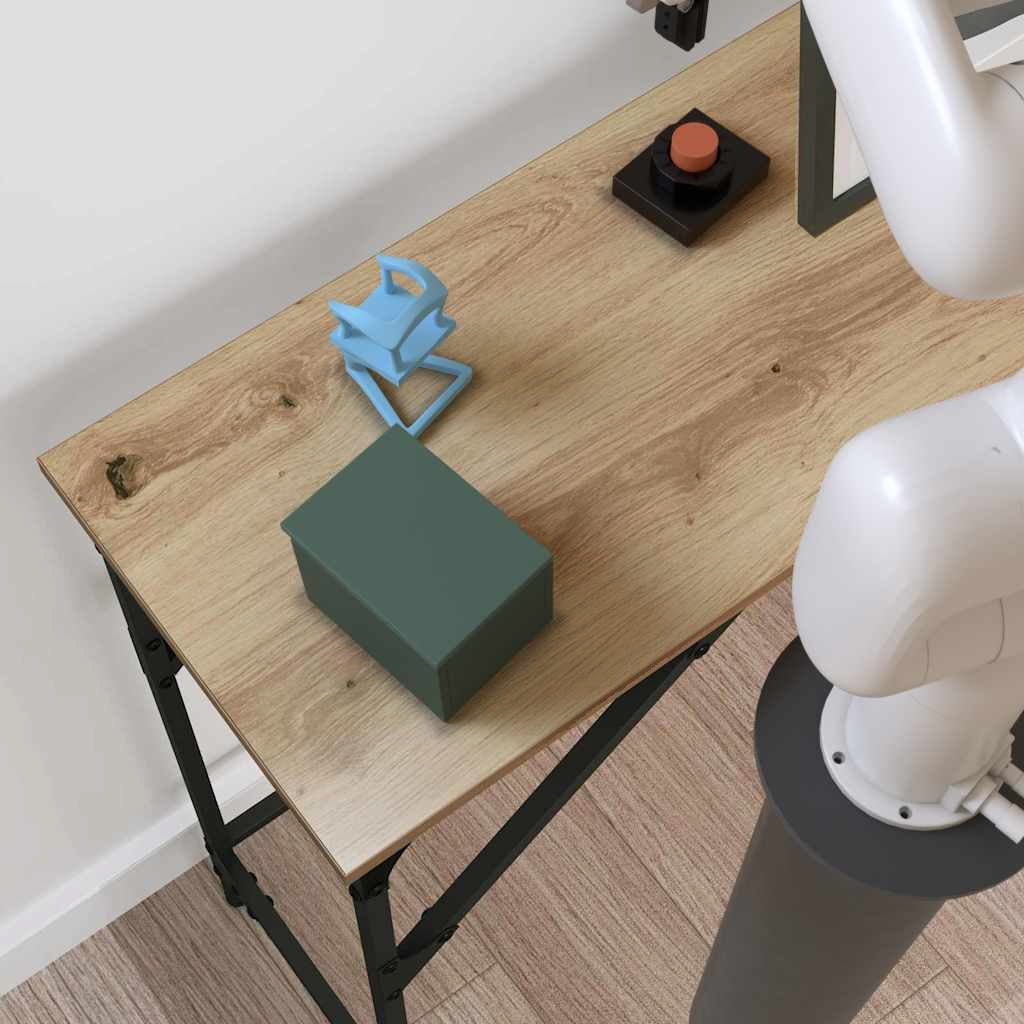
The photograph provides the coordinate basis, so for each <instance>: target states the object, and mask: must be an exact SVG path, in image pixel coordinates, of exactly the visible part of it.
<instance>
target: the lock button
mask: <svg viewBox="0 0 1024 1024" xmlns="http://www.w3.org/2000/svg"><path fill="white" fill-rule="evenodd" d="M717 148H718V136H717V134H716V132H715V131H714V130H713V129H712V128H711V127H709V126H707V125H705V124H702V123H695V122H693V123H687V124H684V125H682V126H680V127H678V128H677V129H676V130H675V132H674V133H673V136H672V143H671V159H672V161H673V163H674V164H675V165H676V166H677V167H678V168H680V169H682V170H684V171H688V172H701V171H704V170H707V169H708V168H710V167H711V166H712V165H713V164H714V162H715V160H716V156H717Z"/></svg>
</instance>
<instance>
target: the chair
mask: <svg viewBox="0 0 1024 1024" xmlns="http://www.w3.org/2000/svg"><path fill="white" fill-rule="evenodd" d="M375 258H376V260H377V262H378V264H379V266H380V275H381V283H380V284H379V285H378V286H377V287H376V288H375V289H374V290H373V291H372V292H371V293H370V294H369V296H368V297H367V298H366V299H365V300H364V301H362V303H361V304H360V305H359V306H358V307H356V306H353V305H348V304H345V303H342V302H339V301H338V300H333V299H332V300H329V301H328V306H329V308H330V311H331V312H332V315H333V316H334V318H336V320H337V321H338V323H339V324H338V326H337V327H336V328H334V330H333V331H332V332H331V333H330V334H329V335H328V336H329V341H330V343H331V344H333V345H334V346H335V347H337V349H338V350H339V351H340V353H341V355H342V356H343V358H344V363H345V371H346V372H347V374H348V375H349V376H350V377H351V378H352V379H353V380H354V381H355V382H356V383H357V384H358V386H359V387H360V388H361V389H362V391H363V392H364V393H365V395H366V396H367V397H368V398H369V400H370V401H371V403H372V404H373V405H374V407H375V408H376V410H377V411H378V413H379V414H380V415H381V417H382V418H383V419H384V421H385V422H386V424H387V425H388V426H389V428H391V427H392V426H393V425H394V424H395V423H398V424H399V425H400V426H401V427H403V428H404V429H405V430H406V431H407V432H409V433H410V434H411V435H412V436H413V437H415V438H416V439H417V440H418V438H419V437H420V436H421V435H422V433H424V431H426V429H427V428H428V427H429V426H430V425H431V424H432V423H433V422H434V421H435V420H436V418H438V417H439V416H440V414H441V413H442V412H443V411H445V409H446V408H447V407H448V406H449V405H450V404H451V402H453V400H454V399H455V398H456V397H457V396H458V395H459V394H460V393H461V392H462V391H463V390H464V389H465V388H466V386H468V384H469V383H471V381H472V379H473V369H472V367H470V366H468V365H466V364H464V363H461V362H458V361H456V360H452V359H449V358H446V357H442V356H438V355H435V354H432V353H433V352H434V351H435V350H436V349H437V348H438V347H439V346H440V345H441V344H442V343H444V342H445V341H446V340H447V339H448V338H449V337H450V336H451V335H452V334H453V333H454V331H456V329H457V321H456V319H453V318H452V317H450V316H448V315H447V314H446V313H444V312H443V310H444V308H445V305H446V302H447V299H448V296H449V290H448V288H447V286H446V285H445V284H444V283H443V282H442V280H441V279H440V278H438V276H437V275H436V274H435V273H433V271H431V270H430V269H429V268H428V267H427V266H425V265H424V264H422V263H420V262H418V261H416V260H413V259H409V258H404V257H403V258H402V257H395V256H390V255H388V254H384V253H377V254H376V257H375ZM392 272H397V273H401V274H404V275H406V276H407V277H409V278H411V279H412V280H414V281H415V282H416V283H418V284H419V286H421V287H422V288H423V291H422V293H421V294H420V295H419V296H418V297H417V296H416V295H414V294H413V293H411V292H410V291H409V290H407V289H406V288H404V287H403V286H401V285H400V284H398V282H397V283H396V282H395V281H394V280H393V279H394V278H393V275H392ZM366 368H368V369H370V370H372V371H374V372H376V373H377V374H378V375H380V376H381V377H383V378H384V379H385V380H387V381H389V382H390V383H392V384H393V385H394V386H396V387H397V388H400V387H402V385H404V383H405V382H407V380H408V379H410V377H411V376H412V375H413V374H414V373H415V371H417V370H418V368H422V369H427V370H430V371H435V372H440V373H444V374H448V375H452V376H456V377H457V378H456V379H455V380H454V381H453V382H452V383H451V384H450V385H449V386H448V387H447V388H446V389H445V390H444V391H443V392H442V393H441V394H440V396H439V397H438V398H437V399H436V400H435V401H434V402H433V403H432V404H431V405H430V406H429V407H428V408H427V409H426V410H425V411H424V412H423V413H422V414H421V415H420V417H418V418H417V420H415V421H414V423H412V425H410V426H409V427H407V426H405V424H404V423H403V421H402V419H400V417H399V415H398V414H397V412H396V411H395V409H394V408H393V407H392V405H391V403H390V401H389V400H388V399H387V397H386V396H385V394H384V392H383V391H382V390H381V388H380V387H379V385H378V384H377V382H376V381H375V379H374V377H372V375H371V373H370V372H369V371H368V370H367V369H366Z"/></svg>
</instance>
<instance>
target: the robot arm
mask: <svg viewBox="0 0 1024 1024" xmlns="http://www.w3.org/2000/svg"><path fill="white" fill-rule="evenodd" d="M801 1H802V4H803V8H804V11H805V13H806V16H807V19H808V22H809V24H810V27H811V29H812V33H813V35H814V37H815V40H816V43H817V45H818V48H819V50H820V53H821V56H822V58H823V61H824V63H825V65H826V69H827V70H828V74H829V76H830V78H831V80H832V83H833V86H834V88H835V91H836V94H837V95H838V98H839V101H840V104H841V105H842V108H843V111H844V113H845V116H846V118H847V121H848V124H849V126H850V128H851V131H852V134H853V136H854V138H855V141H856V144H857V147H858V149H859V152H860V154H861V157H862V160H863V163H864V165H865V168H866V171H867V173H868V176H869V179H870V181H871V184H872V187H873V190H874V192H875V195H876V198H877V200H878V203H879V204H880V205H879V206H880V208H881V210H882V213H883V216H884V218H885V220H886V222H887V225H888V228H889V229H890V231H891V234H892V236H893V238H894V240H895V242H896V243H897V245H898V248H899V250H900V251H901V253H902V255H903V256H904V258H905V260H906V261H907V262H908V264H909V266H910V267H911V269H913V270H914V271H915V273H916V274H917V275H918V276H919V277H920V278H921V279H922V280H923V282H924V283H926V284H927V285H928V286H930V287H931V288H932V289H933V290H935V291H937V292H939V293H940V294H943V295H945V296H947V297H950V298H952V299H955V300H960V301H967V302H981V301H995V300H1000V299H1007V298H1011V297H1016V296H1019V295H1022V294H1024V59H1020V60H1016V61H1013V62H1010V63H1006V64H1002V65H999V66H995V67H992V68H988V69H985V70H982V71H977V70H976V69H975V66H974V64H973V61H972V59H971V56H970V55H969V52H968V50H967V47H966V45H965V42H964V40H963V37H962V35H961V32H960V30H959V27H958V25H957V22H956V19H955V18H956V17H960V16H963V15H966V14H967V15H968V14H970V13H973V12H976V11H979V10H982V9H983V10H984V9H987V8H990V7H994V6H998V5H1003V4H1006V3H1010V2H1014V1H1015V0H801ZM709 4H710V0H625V5H626V6H628V7H629V8H631V9H632V10H634V11H635V12H637V13H639V14H640V15H643V14H645V13H647V12H648V11H650V10H652V9H654V8H655V13H654V24H653V25H654V27H653V28H654V30H655V32H656V34H658V35H659V36H660V37H662V38H663V39H665V40H666V41H667V42H670V43H672V44H674V45H675V46H677V47H678V48H679V49H681V50H683V51H684V52H686V53H689V52H691V51H692V50H693V49H694V48H695V46H696V44H700V43H701V42H702V41H703V40H704V39H705V37H706V30H707V23H708V22H707V21H708V13H709ZM808 517H809V518H808V520H807V522H806V524H805V527H804V530H803V533H802V536H801V539H800V540H799V541H800V542H799V544H798V548H797V551H796V554H795V558H794V563H793V570H792V582H791V602H792V610H793V617H794V623H795V625H796V630H797V633H798V635H799V636H800V639H801V642H802V644H803V646H804V649H805V651H806V652H807V654H808V656H809V658H810V659H811V661H812V662H813V664H814V665H815V666H816V668H817V669H818V670H819V671H820V672H821V674H822V675H823V676H824V677H825V678H826V679H827V680H829V681H830V682H831V683H832V684H834V686H833V688H832V690H831V692H830V694H829V696H828V698H827V700H826V702H825V705H824V708H823V711H822V715H821V721H820V728H819V730H820V746H821V750H822V754H823V758H824V762H825V764H826V766H827V768H828V771H829V773H830V775H831V777H832V779H833V780H834V782H835V783H836V784H837V786H838V787H839V789H840V790H841V791H842V793H843V794H844V795H845V796H846V797H847V798H848V799H849V800H850V801H851V802H852V803H853V804H854V805H855V806H857V807H858V808H860V809H861V810H863V811H864V812H865V813H867V814H868V815H870V816H871V817H873V818H876V819H878V820H880V821H882V822H884V823H886V824H888V825H892V826H896V827H900V828H903V829H908V830H920V831H929V830H940V829H945V828H949V827H952V826H955V825H959V824H961V823H963V822H965V821H967V820H968V819H970V818H972V817H974V816H976V815H977V814H978V813H979V812H980V813H981V814H983V815H984V816H985V817H986V818H988V819H989V820H990V821H991V822H993V823H994V824H995V826H996V827H997V828H998V829H999V830H1001V831H1002V832H1003V833H1004V834H1006V835H1007V836H1008V837H1009V838H1010V839H1012V840H1013V841H1014V842H1015V843H1017V844H1018V843H1019V841H1020V840H1021V839H1022V838H1023V837H1024V811H1023V810H1022V809H1021V808H1019V807H1018V806H1017V805H1016V804H1012V803H1011V802H1010V801H1008V800H1007V799H1006V798H1005V797H1003V796H1002V795H1001V794H999V793H998V791H999V789H1000V787H1001V786H1002V784H1003V782H1005V783H1007V784H1008V785H1009V786H1010V787H1012V790H1014V791H1015V792H1016V793H1018V794H1019V795H1020V796H1021V797H1023V798H1024V773H1023V772H1022V771H1021V770H1020V769H1018V768H1017V767H1016V766H1014V765H1013V764H1012V763H1011V760H1012V758H1011V744H1012V742H1013V741H1014V739H1015V737H1014V736H1013V735H1012V734H1011V733H1010V729H1011V728H1012V726H1013V725H1014V723H1015V722H1016V720H1017V719H1018V717H1019V716H1020V714H1021V713H1022V711H1023V710H1024V366H1022V367H1021V368H1020V369H1019V370H1018V371H1017V372H1016V373H1015V374H1012V375H1011V376H1009V377H1006V378H1004V379H1002V380H999V381H997V382H994V383H991V384H988V385H985V386H982V387H980V388H977V389H974V390H971V391H968V392H965V393H963V394H959V395H956V396H954V397H951V398H947V399H944V400H943V399H942V400H940V401H938V402H935V403H934V402H933V403H931V404H928V405H926V406H925V405H924V406H922V407H919V408H916V409H912V410H909V411H906V412H903V413H901V414H897V415H895V416H892V417H889V418H887V419H884V420H882V421H879V422H877V423H875V424H873V425H871V426H869V427H867V428H865V429H864V430H862V431H860V432H859V433H857V435H855V436H853V437H852V438H850V440H848V441H847V442H846V443H844V445H842V447H840V449H839V450H838V451H837V452H836V453H835V455H834V456H833V458H832V459H831V461H830V463H829V466H828V467H827V470H826V472H825V475H824V477H823V480H822V482H821V485H820V487H819V489H818V493H817V496H816V499H815V501H814V504H813V507H812V510H811V512H810V514H809V516H808ZM835 759H838V760H840V762H841V764H837V763H835V762H834V760H835ZM900 814H906V816H907V819H904V818H902V817H901V816H900Z"/></svg>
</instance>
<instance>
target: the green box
mask: <svg viewBox="0 0 1024 1024" xmlns="http://www.w3.org/2000/svg"><path fill="white" fill-rule="evenodd" d="M290 543H291V546H292V550H293V553H294V556H295V561H296V564H297V567H298V570H299V574H300V577H301V581H302V584H303V587H304V591H305V595H306V597H307V599H308V600H309V601H310V602H311V603H312V604H313V605H314V606H315V607H316V608H317V609H319V610H320V611H321V612H322V613H323V614H324V615H325V616H326V617H327V618H328V619H330V620H331V621H332V622H333V623H334V624H335V625H336V626H337V627H339V628H340V629H341V630H342V631H343V632H344V634H346V635H347V636H348V637H350V638H351V639H352V640H353V641H354V642H355V643H356V644H357V645H358V646H359V647H361V649H363V650H364V651H365V652H366V653H367V654H368V655H370V657H371V658H372V659H374V660H375V661H376V662H377V663H378V664H379V665H380V666H381V667H382V668H384V669H385V670H386V671H387V672H388V673H389V674H390V675H391V676H392V677H393V678H395V680H397V681H398V682H399V683H400V684H401V685H402V686H403V687H404V688H405V689H407V691H409V692H410V693H411V694H412V695H413V696H414V697H416V698H417V699H418V700H419V701H420V702H421V703H422V704H423V705H424V706H425V707H426V708H427V709H429V710H430V711H431V712H432V713H433V714H435V716H437V718H438V719H440V720H441V721H442V722H443V723H444V724H446V723H447V722H449V720H450V719H452V717H454V716H455V715H456V714H457V713H458V711H460V710H461V708H463V707H464V706H465V705H466V704H467V703H468V702H469V701H470V700H471V699H472V698H473V697H474V696H475V695H476V694H477V693H478V692H479V691H480V690H481V689H483V687H484V686H486V685H487V684H488V683H489V682H490V681H491V680H492V679H493V678H494V677H495V676H496V675H497V674H498V673H499V672H500V671H501V670H502V669H503V668H504V667H505V666H506V665H507V664H508V663H509V662H510V661H512V659H513V658H515V657H516V656H517V655H518V654H519V653H520V652H521V651H522V650H523V649H524V648H525V647H526V646H527V645H528V644H529V643H530V642H531V641H532V640H533V639H534V638H535V637H536V636H537V635H539V634H540V632H542V631H543V629H544V628H545V627H547V626H548V625H549V624H550V622H551V621H553V620H554V560H553V561H552V562H551V563H550V564H549V565H548V566H546V567H545V568H544V569H543V570H542V571H541V572H540V573H539V574H538V575H537V576H536V577H535V578H534V579H533V580H532V581H531V582H530V583H529V584H528V585H526V586H525V587H524V588H523V589H522V590H521V591H520V592H519V593H518V594H517V595H516V596H515V597H514V598H513V599H512V600H511V601H510V602H509V603H508V604H506V605H505V606H504V607H503V608H502V609H501V610H500V611H499V612H498V613H497V614H496V615H495V616H494V617H493V618H492V619H491V620H490V621H489V622H487V623H486V624H485V625H484V626H483V627H482V628H481V629H480V630H479V631H478V632H477V633H476V634H475V635H474V636H473V637H472V638H471V639H470V640H469V641H467V642H466V643H465V644H464V645H463V646H462V647H461V648H460V649H459V650H458V651H457V652H456V653H455V654H454V655H453V656H452V657H451V658H450V659H448V660H447V661H446V662H445V663H444V664H443V665H442V666H441V667H440V668H439V669H438V670H437V669H435V668H434V667H433V666H432V665H431V664H430V663H429V662H428V661H426V660H425V659H424V658H423V657H422V656H421V655H420V654H419V653H418V652H417V651H415V650H414V649H413V648H412V647H411V646H410V645H409V644H408V643H407V642H405V641H404V640H403V639H402V638H401V637H400V636H399V635H398V634H397V633H396V632H394V631H393V630H392V629H391V628H390V627H389V626H388V625H387V624H386V623H385V622H383V621H382V620H381V619H380V618H379V617H378V616H377V615H376V614H375V613H373V612H372V611H371V610H370V609H369V608H368V607H367V606H366V605H365V604H364V603H362V602H361V601H360V600H359V599H358V598H357V597H356V596H355V595H354V594H352V593H351V592H350V591H349V590H348V589H347V588H346V587H345V586H344V585H343V584H341V583H340V582H339V581H338V580H337V579H336V578H335V577H334V576H333V575H331V574H330V573H329V572H328V571H327V570H326V569H325V568H324V567H323V566H322V565H320V564H319V563H318V562H317V561H316V560H315V559H314V558H313V557H312V556H310V555H309V554H308V553H307V552H306V551H305V550H304V549H303V548H302V547H301V546H299V545H298V544H297V543H296V542H295V541H294V540H293V539H292V538H291V537H290Z"/></svg>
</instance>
